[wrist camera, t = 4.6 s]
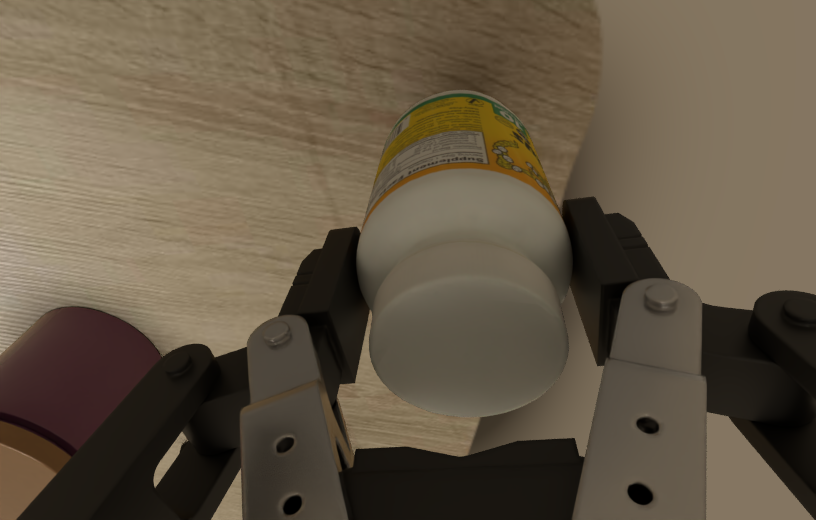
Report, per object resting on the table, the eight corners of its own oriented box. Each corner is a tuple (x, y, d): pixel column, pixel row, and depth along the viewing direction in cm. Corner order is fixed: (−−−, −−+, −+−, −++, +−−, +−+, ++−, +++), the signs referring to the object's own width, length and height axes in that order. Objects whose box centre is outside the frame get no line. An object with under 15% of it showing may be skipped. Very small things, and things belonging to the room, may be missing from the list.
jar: (1, 310, 35) (-150, 435, 27) (127, 296, 34) (10, 426, 25) (80, 403, 41) (-23, 532, 32) (191, 396, 39) (114, 530, 30)
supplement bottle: (364, 109, 16) (288, 274, 9) (520, 66, 15) (598, 211, 7) (407, 237, 19) (380, 449, 11) (541, 209, 18) (613, 423, 10)
